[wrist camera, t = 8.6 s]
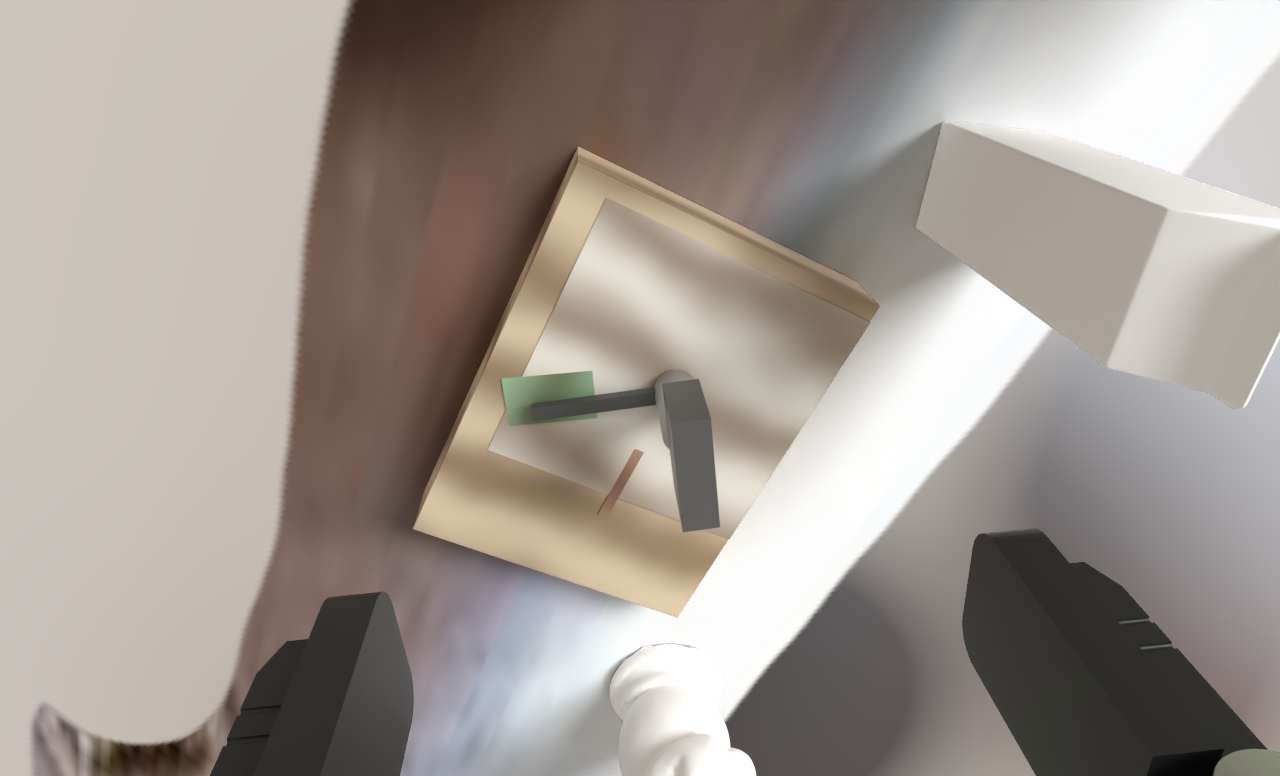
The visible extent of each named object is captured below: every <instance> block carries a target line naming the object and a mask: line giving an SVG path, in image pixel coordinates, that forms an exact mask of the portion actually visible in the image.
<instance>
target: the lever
mask: <svg viewBox="0 0 1280 776" xmlns="http://www.w3.org/2000/svg"><path fill="white" fill-rule="evenodd" d="M652 405H656V406H657V411H658V417H659V422H660V427H661V433H662V438H663V442H664V444H665V445H666V447H667V448H668V449H670V456H671V465H672V474H673V483H674V489H675V494H676V500H677V505H678V510H679V515H680V520H681V526H682V531H683V532H690V531H697V530H704V529H712V528H719V527H720V519H719V507H718V495H717V484H716V472H715V460H714V448H713V437H712V425H711V417H710V414H709V410H708V407H707V404H706V401H705V397H704V394H703V391H702V387H701V384H700V381H699V379H694V378H693V377H692V376H691V375H690V374H689V373H687V372H685V371H682V370H670V371H667V372H665V373H664V374H662V375H661V376H660V377H659V378H658V379H657V381H656V382H655V385H654V387H652V388H645V389H637V390H630V391H622V392H615V393H607V394H600V395H592V396H585V397H577V398H570V399H562V400H555V401H547V402H540V403H533V404H532V405H531V411H532V416H533V421H540V420H548V419H555V418H563V417H570V416H578V415H585V414H593V413H600V412H607V411H615V410H622V409H630V408H637V407H645V406H652Z"/></svg>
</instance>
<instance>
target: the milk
mask: <svg viewBox="0 0 1280 776" xmlns="http://www.w3.org/2000/svg"><path fill="white" fill-rule="evenodd" d="M916 228H917V229H919V230H920V231H921V232H923V233H924V234H925V235H927V236H928V237H929V238H931V239H932V240H933V241H935V242H936V243H938V244H939V245H940V246H942V247H943V248H944V249H946V250H947V251H948V252H950V253H951V254H952V255H954V256H955V257H957V258H958V259H959V260H961V261H962V262H963V263H965V264H966V265H967V266H969V267H970V268H971V269H973V270H974V271H976V272H977V273H978V274H980V275H981V276H982V277H984V278H985V279H986V280H988V281H989V282H990V283H992V284H993V285H995V286H996V287H997V288H999V289H1000V290H1001V291H1003V292H1004V293H1005V294H1007V295H1008V296H1009V297H1011V298H1012V299H1014V300H1015V301H1016V302H1018V303H1019V304H1020V305H1022V306H1023V307H1024V308H1026V309H1027V310H1028V311H1030V312H1031V313H1033V314H1034V315H1035V316H1037V317H1038V318H1039V319H1041V320H1042V321H1043V322H1045V323H1046V324H1047V325H1049V326H1050V327H1052V328H1053V329H1054V330H1056V331H1057V332H1059V333H1060V334H1061V335H1062V336H1064V337H1065V338H1067V339H1068V340H1069V341H1071V342H1072V343H1073V344H1075V345H1076V346H1077V347H1079V348H1080V349H1081V350H1083V351H1084V352H1086V353H1087V354H1089V355H1090V356H1091V357H1092V358H1094V359H1095V360H1096V361H1098V362H1099V363H1101V364H1102V365H1103V366H1105V367H1106V368H1109V369H1113V370H1117V371H1120V372H1124V373H1128V374H1133V375H1137V376H1141V377H1145V378H1149V379H1153V380H1157V381H1161V382H1165V383H1169V384H1174V385H1177V386H1181V387H1186V388H1189V389H1194V390H1198V391H1201V392H1206V393H1209V394H1210V395H1212V396H1214V397H1215V398H1217V399H1218V400H1220V401H1221V402H1223V403H1224V404H1226V405H1227V406H1229V407H1231V408H1232V409H1243V408H1244V407H1245V406H1247V404H1248V402H1249V400H1250V398H1251V396H1252V394H1253V392H1254V390H1255V388H1256V386H1257V383H1258V382H1259V380H1260V377H1261V375H1262V373H1263V371H1264V369H1265V367H1266V365H1267V363H1268V361H1269V359H1270V357H1271V355H1272V353H1273V351H1274V349H1275V347H1276V345H1277V343H1278V341H1279V339H1280V208H1278V207H1275V206H1272V205H1269V204H1266V203H1263V202H1260V201H1257V200H1254V199H1251V198H1247V197H1244V196H1241V195H1238V194H1235V193H1232V192H1229V191H1226V190H1223V189H1220V188H1217V187H1214V186H1211V185H1208V184H1205V183H1202V182H1199V181H1195V180H1193V179H1190V178H1187V177H1184V176H1181V175H1177V174H1174V173H1171V172H1168V171H1165V170H1162V169H1159V168H1156V167H1153V166H1150V165H1147V164H1144V163H1141V162H1138V161H1135V160H1132V159H1129V158H1126V157H1123V156H1120V155H1117V154H1113V153H1110V152H1107V151H1104V150H1101V149H1098V148H1095V147H1092V146H1089V145H1086V144H1083V143H1080V142H1077V141H1074V140H1071V139H1068V138H1065V137H1062V136H1059V135H1056V134H1052V133H1049V132H1046V131H1040V130H1030V129H1020V128H1010V127H1000V126H990V125H980V124H970V123H960V122H950V121H944V122H943V123H942V127H941V131H940V135H939V139H938V143H937V146H936V150H935V154H934V158H933V162H932V166H931V170H930V174H929V178H928V181H927V185H926V189H925V193H924V197H923V201H922V205H921V209H920V213H919V216H918V220H917V224H916Z"/></svg>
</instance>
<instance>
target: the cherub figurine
mask: <svg viewBox="0 0 1280 776" xmlns="http://www.w3.org/2000/svg"><path fill="white" fill-rule="evenodd" d="M722 690H723V682H722V676H721V673H720V671H719V669H718V667H717V666H716V665H715V663H714V662H713V661H712V660H711V659H710V658H709V657H708V654H707V653H706V652H704V651H701V650H700V649H697V648H691V647H690V648H688V647H684V646H680V645H677V644H676V645H674V644H661V645H658V646H656V645H655V646H651V645H650V646H646V647H645V646H644V647H642V648H641V649H640V650H638V651H636V652H635V653H633V655H632V656H630V657H628V658H626V659H624V661H623V662H622V663H621V665H620V666H619V668H618V669H617V671H616V673H615V674H614V675H613V677H612V681H611V684H610V692H609V693H610V701H611V704H612V707H613V709H614V711H615V712H616V714H617V715H618V716H619V717H620V719H622V722H623V724H622V727H621V731H620V736H619V744H618V756H619V763H620V768H621V772H622V775H623V776H756V771H755V768H754V764H753V762H752V760H751V759H750V757H749V756H748V755H747V754H746V753H744V752H743V751H741V750H738V749H735V748H730V739H729V734H728V730H727V727H726V724H725V722H724V720H723V718H722V716H721V714H720V713H719V711H718V710H717V704H718V702H719V700H720V698H721V694H722Z"/></svg>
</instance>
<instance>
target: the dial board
mask: <svg viewBox="0 0 1280 776" xmlns="http://www.w3.org/2000/svg"><path fill="white" fill-rule="evenodd" d="M879 307H880V306H879V305H878V304H877V303H876V302H875V301H874V300H873V298H872V297H871V296H870V295H869V294H868V293H867V292H866V291H865V290H864V289H863V288H862V287H861V285H860V284H859V283H858V282H857V281H854V280H852V279H850V278H848V277H846V276H844V275H842V274H840V273H838V272H836V271H834V270H832V269H830V268H828V267H826V266H824V265H821V264H819V263H817V262H815V261H813V260H811V259H809V258H807V257H805V256H803V255H801V254H799V253H797V252H795V251H793V250H791V249H789V248H786V247H784V246H782V245H780V244H778V243H776V242H774V241H772V240H770V239H768V238H766V237H764V236H762V235H760V234H758V233H756V232H753V231H751V230H749V229H747V228H745V227H743V226H741V225H739V224H737V223H735V222H733V221H731V220H729V219H727V218H725V217H723V216H720V215H718V214H716V213H714V212H712V211H710V210H708V209H706V208H704V207H702V206H700V205H698V204H696V203H694V202H692V201H690V200H687V199H685V198H683V197H681V196H679V195H677V194H675V193H673V192H671V191H669V190H667V189H665V188H663V187H661V186H659V185H657V184H654V183H652V182H650V181H648V180H646V179H644V178H642V177H640V176H638V175H636V174H634V173H632V172H630V171H628V170H626V169H624V168H622V167H619V166H617V165H615V164H613V163H611V162H609V161H607V160H605V159H603V158H601V157H599V156H597V155H595V154H593V153H591V152H589V151H586V150H584V149H582V148H580V147H577V150H576V152H575V154H574V156H573V159H572V161H571V163H570V165H569V168H568V170H567V172H566V174H565V177H564V179H563V181H562V183H561V186H560V188H559V190H558V192H557V195H556V197H555V199H554V201H553V204H552V206H551V208H550V210H549V212H548V215H547V217H546V219H545V221H544V224H543V226H542V228H541V230H540V233H539V235H538V237H537V239H536V242H535V244H534V246H533V248H532V251H531V253H530V255H529V257H528V260H527V262H526V264H525V266H524V269H523V271H522V273H521V275H520V277H519V280H518V282H517V284H516V286H515V289H514V291H513V293H512V295H511V298H510V300H509V302H508V304H507V307H506V309H505V311H504V313H503V316H502V318H501V320H500V322H499V325H498V327H497V329H496V331H495V334H494V336H493V338H492V340H491V342H490V345H489V347H488V349H487V351H486V354H485V356H484V358H483V360H482V363H481V365H480V367H479V369H478V372H477V374H476V376H475V378H474V381H473V383H472V385H471V387H470V390H469V392H468V394H467V396H466V399H465V401H464V403H463V405H462V407H461V410H460V412H459V414H458V416H457V419H456V421H455V423H454V425H453V428H452V430H451V432H450V434H449V437H448V439H447V441H446V443H445V446H444V448H443V450H442V452H441V455H440V457H439V459H438V461H437V464H436V466H435V468H434V470H433V472H432V475H431V477H430V479H429V481H428V484H427V486H426V488H425V490H424V493H423V497H422V500H421V503H420V507H419V510H418V513H417V517H416V520H415V524H414V527H413V529H414V530H417V531H420V532H423V533H426V534H429V535H432V536H435V537H438V538H441V539H444V540H447V541H450V542H453V543H456V544H459V545H462V546H465V547H468V548H471V549H474V550H477V551H480V552H483V553H486V554H489V555H492V556H495V557H498V558H501V559H504V560H507V561H510V562H513V563H516V564H519V565H522V566H525V567H528V568H531V569H534V570H537V571H540V572H543V573H546V574H549V575H552V576H555V577H558V578H561V579H564V580H567V581H570V582H573V583H576V584H579V585H582V586H585V587H588V588H591V589H594V590H597V591H600V592H603V593H606V594H609V595H612V596H614V597H617V598H620V599H623V600H626V601H629V602H632V603H635V604H638V605H641V606H644V607H647V608H650V609H653V610H656V611H659V612H662V613H665V614H668V615H671V616H674V617H677V618H678V616H679V615H680V613H681V611H682V610H683V608H684V607H685V605H686V604H687V602H688V601H689V599H690V598H691V596H692V595H693V593H694V591H695V590H696V588H697V587H698V585H699V584H700V582H701V581H702V579H703V578H704V576H705V575H706V573H707V571H708V570H709V568H710V567H711V565H712V564H713V562H714V561H715V559H716V558H717V556H718V555H719V553H720V551H721V550H722V548H723V547H724V545H725V544H726V542H727V541H728V539H730V537H731V536H732V534H733V533H734V531H735V530H736V528H737V527H738V525H739V524H740V522H741V521H742V519H743V517H744V516H745V514H746V513H747V511H748V510H749V508H750V507H751V505H752V504H753V502H754V501H755V499H756V497H757V496H758V494H759V493H760V491H761V490H762V488H763V487H764V485H765V484H766V482H767V481H768V479H769V477H770V476H771V474H772V473H773V471H774V470H775V468H776V467H777V465H778V464H779V462H780V461H781V459H782V457H783V456H784V454H785V453H786V451H787V450H788V448H789V447H790V445H791V444H792V442H793V441H794V439H795V437H796V436H797V434H798V433H799V431H800V430H801V428H802V427H803V425H804V424H805V422H806V421H807V419H808V417H809V416H810V414H811V413H812V411H813V410H814V408H815V407H816V405H817V404H818V402H819V401H820V399H821V397H822V396H823V394H824V393H825V391H826V390H827V388H828V387H829V385H830V384H831V382H832V380H833V379H834V377H835V376H836V374H837V373H838V371H839V370H840V368H841V367H842V365H843V364H844V362H845V360H846V359H847V357H848V356H849V354H850V353H851V351H852V350H853V348H854V347H855V345H856V344H857V342H858V340H859V339H860V337H861V336H862V334H863V333H864V331H865V330H866V328H867V327H868V325H869V324H870V320H871V319H872V317H873V316H874V314H875V313H876V311H877V310H878V308H879ZM670 370H682V371H685V372H687V373H689V374H690V375H691V376H692V377H693V378H694V379H699V381H700V384H701V387H702V391H703V394H704V397H705V401H706V404H707V407H708V410H709V414H710V417H711V425H712V437H713V448H714V460H715V472H716V484H717V495H718V507H719V519H720V527H719V528H712V529H704V530H697V531H690V532H683V531H682V526H681V520H680V515H679V510H678V505H677V500H676V494H675V489H674V483H673V474H672V465H671V456H670V449H668V448H667V447H666V445H665V444H664V442H663V438H662V433H661V427H660V422H659V417H658V411H657V406H656V405H652V406H645V407H637V408H630V409H622V410H615V411H607V412H600V413H593V414H585V415H578V416H570V417H563V418H555V419H548V420H540V421H533V416H532V411H531V405H532V404H533V403H540V402H547V401H555V400H562V399H570V398H577V397H585V396H592V395H600V394H607V393H615V392H622V391H630V390H637V389H645V388H652V387H654V385H655V382H656V381H657V379H658V378H659V377H660V376H661V375H662V374H664V373H665V372H667V371H670Z"/></svg>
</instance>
